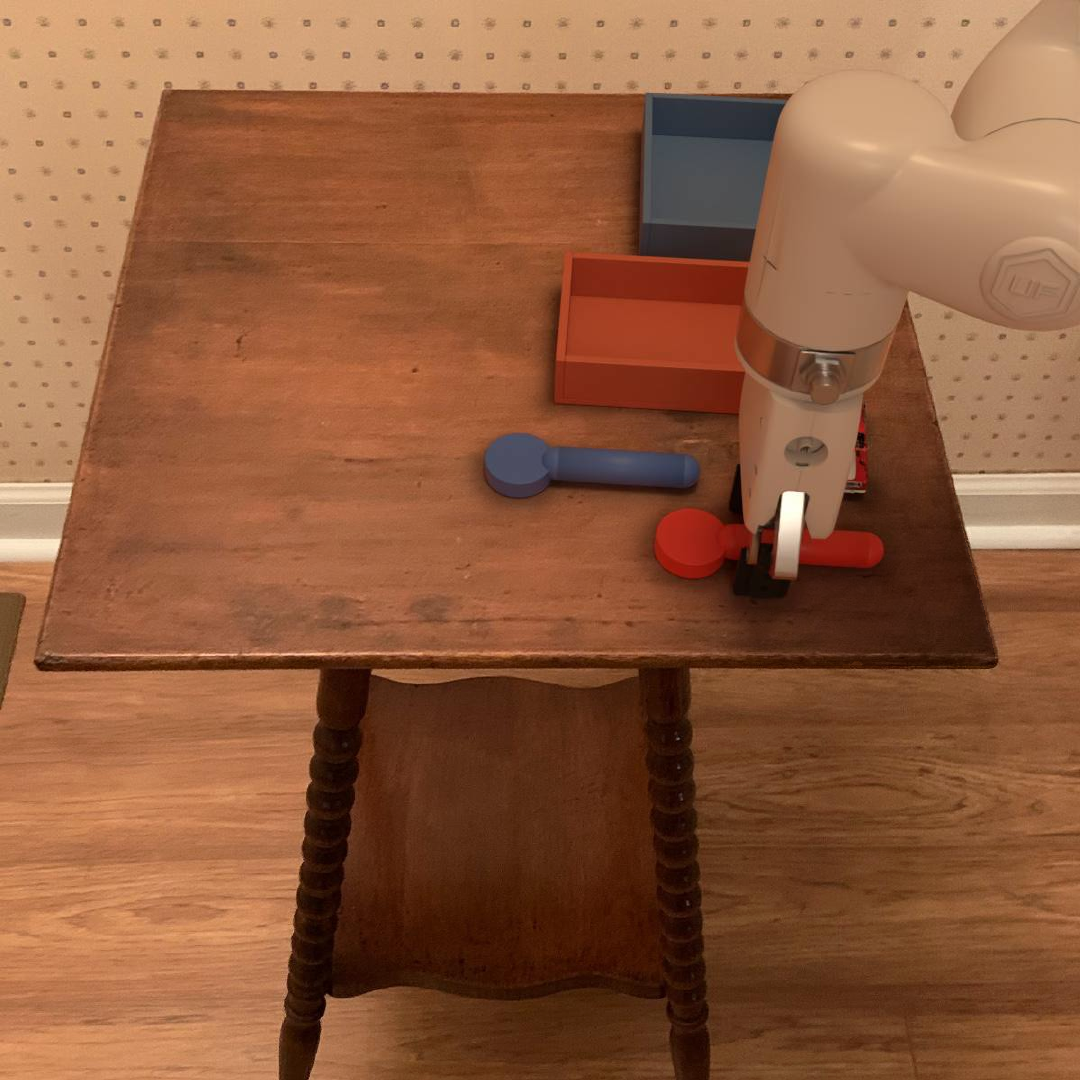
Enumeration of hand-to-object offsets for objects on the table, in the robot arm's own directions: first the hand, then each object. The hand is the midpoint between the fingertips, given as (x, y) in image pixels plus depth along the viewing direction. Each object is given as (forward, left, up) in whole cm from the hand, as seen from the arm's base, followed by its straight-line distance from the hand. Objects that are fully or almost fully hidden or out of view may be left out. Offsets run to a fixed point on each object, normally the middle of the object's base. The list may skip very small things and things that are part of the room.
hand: (756, 548), depth 73 cm
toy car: (-6, -9, -1) cm, 11 cm away
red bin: (+4, -17, -1) cm, 18 cm away
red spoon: (-1, 0, -1) cm, 1 cm away
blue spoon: (+10, -6, -1) cm, 12 cm away
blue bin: (+1, -35, -1) cm, 36 cm away
